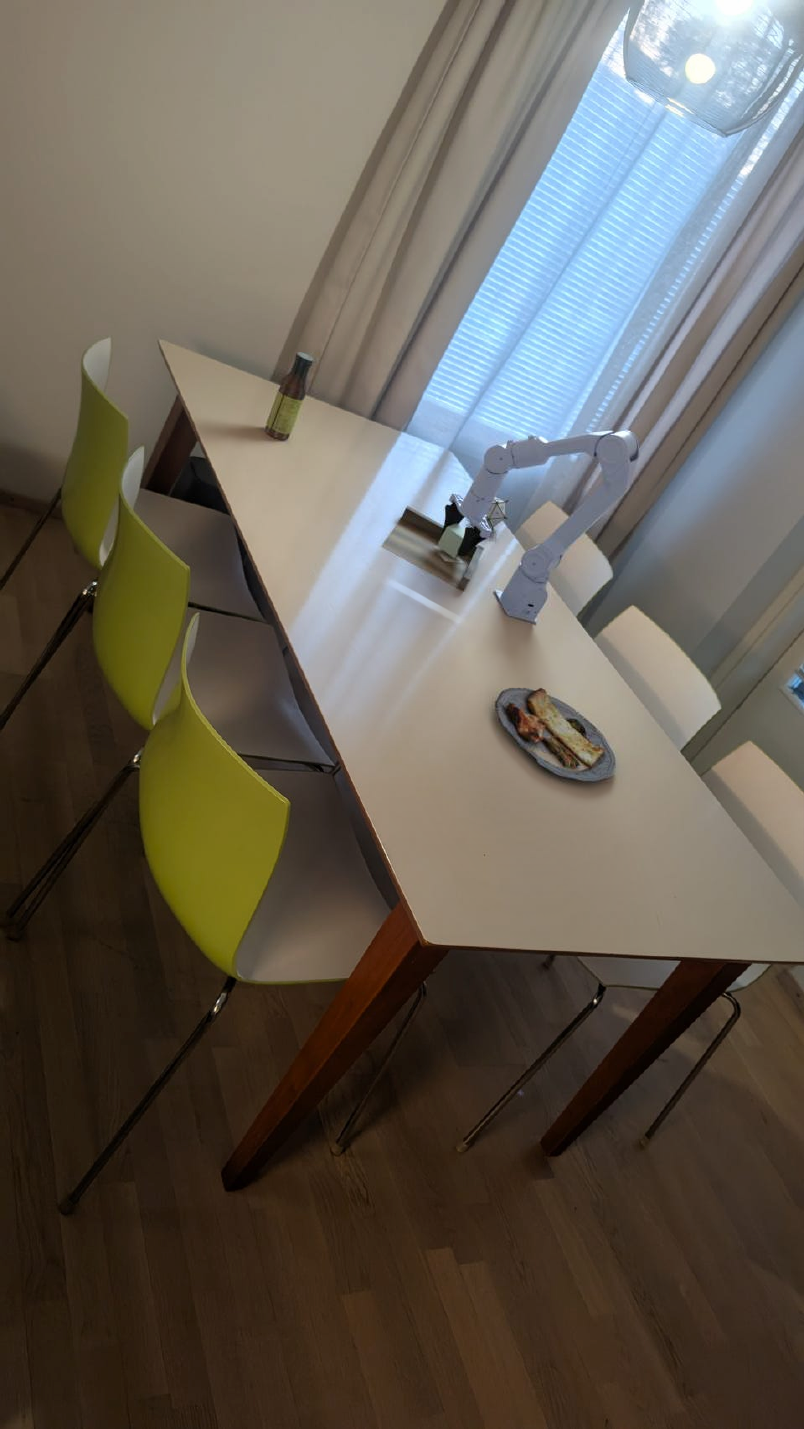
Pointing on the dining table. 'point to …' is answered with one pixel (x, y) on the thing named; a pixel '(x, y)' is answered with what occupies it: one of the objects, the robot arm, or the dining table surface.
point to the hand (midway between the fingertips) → (453, 546)
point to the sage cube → (452, 539)
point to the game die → (496, 512)
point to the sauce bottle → (289, 399)
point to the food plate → (555, 733)
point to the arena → (430, 549)
